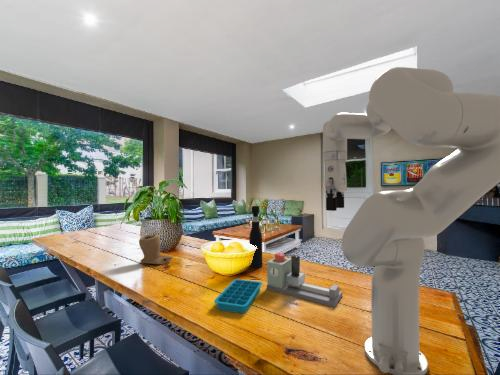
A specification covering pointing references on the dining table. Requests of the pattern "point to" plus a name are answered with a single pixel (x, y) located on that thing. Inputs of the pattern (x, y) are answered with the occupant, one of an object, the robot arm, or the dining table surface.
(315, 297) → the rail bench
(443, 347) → the dining table surface
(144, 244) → the brown boot
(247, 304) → the ice cube tray
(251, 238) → the wine bottle
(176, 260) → the dining table surface
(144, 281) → the dining table surface
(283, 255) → the button
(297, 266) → the carriage
